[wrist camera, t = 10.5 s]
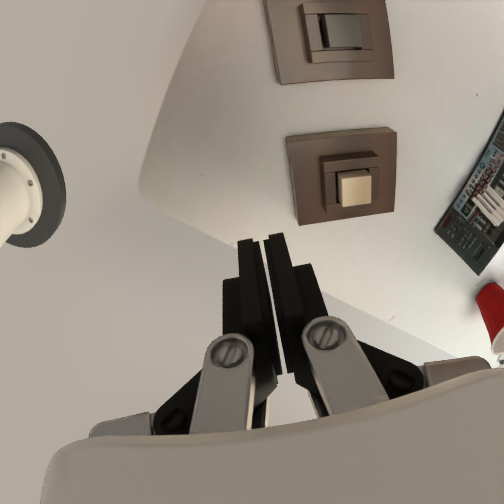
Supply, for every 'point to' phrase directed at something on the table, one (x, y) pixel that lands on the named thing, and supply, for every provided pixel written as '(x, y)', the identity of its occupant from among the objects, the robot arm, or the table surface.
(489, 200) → the synthesizer keyboard
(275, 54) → the key block
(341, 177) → the key ivory
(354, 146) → the key block
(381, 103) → the table surface
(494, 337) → the plastic cup
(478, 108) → the table surface
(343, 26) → the key ebony
